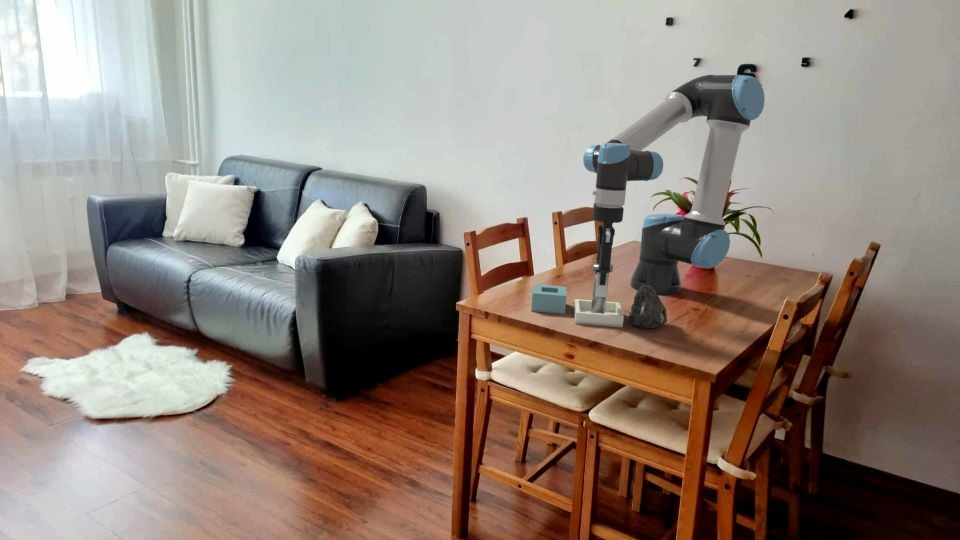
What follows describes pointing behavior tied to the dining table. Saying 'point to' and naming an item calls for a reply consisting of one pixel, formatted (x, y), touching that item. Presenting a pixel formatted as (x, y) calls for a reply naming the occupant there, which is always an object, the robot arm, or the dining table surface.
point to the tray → (598, 314)
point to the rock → (647, 309)
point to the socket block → (549, 298)
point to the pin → (597, 302)
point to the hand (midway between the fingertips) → (599, 293)
